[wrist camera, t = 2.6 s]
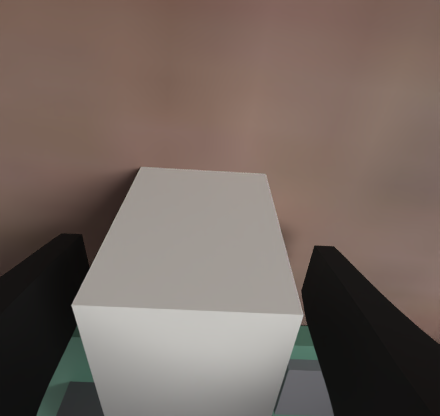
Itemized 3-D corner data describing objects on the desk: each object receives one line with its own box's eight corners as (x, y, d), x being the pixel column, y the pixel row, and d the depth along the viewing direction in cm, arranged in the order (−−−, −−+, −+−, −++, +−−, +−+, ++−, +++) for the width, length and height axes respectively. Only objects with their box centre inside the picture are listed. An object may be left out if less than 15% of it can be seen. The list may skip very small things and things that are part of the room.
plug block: (265, 173, 10) (303, 314, 5) (248, 285, 13) (263, 442, 8) (141, 166, 10) (71, 304, 5) (150, 281, 13) (110, 437, 8)
